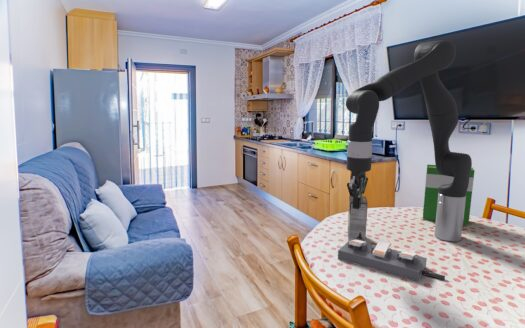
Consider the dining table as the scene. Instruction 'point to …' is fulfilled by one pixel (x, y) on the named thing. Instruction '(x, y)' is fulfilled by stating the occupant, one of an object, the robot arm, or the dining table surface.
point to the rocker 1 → (356, 242)
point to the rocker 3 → (407, 255)
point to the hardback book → (431, 193)
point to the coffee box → (357, 220)
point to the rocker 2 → (381, 248)
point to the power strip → (386, 261)
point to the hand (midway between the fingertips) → (356, 208)
